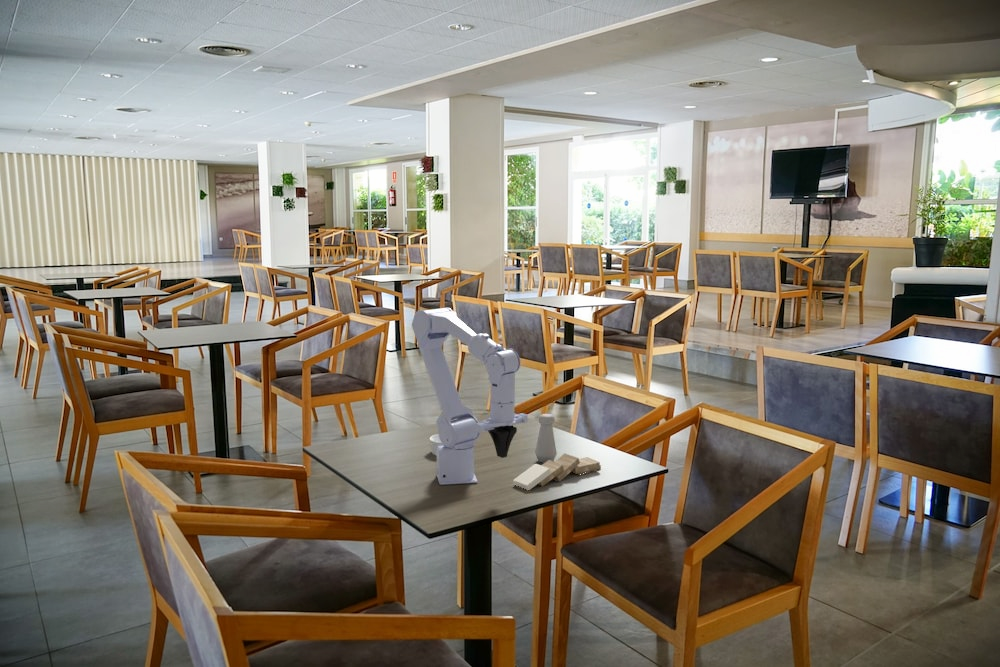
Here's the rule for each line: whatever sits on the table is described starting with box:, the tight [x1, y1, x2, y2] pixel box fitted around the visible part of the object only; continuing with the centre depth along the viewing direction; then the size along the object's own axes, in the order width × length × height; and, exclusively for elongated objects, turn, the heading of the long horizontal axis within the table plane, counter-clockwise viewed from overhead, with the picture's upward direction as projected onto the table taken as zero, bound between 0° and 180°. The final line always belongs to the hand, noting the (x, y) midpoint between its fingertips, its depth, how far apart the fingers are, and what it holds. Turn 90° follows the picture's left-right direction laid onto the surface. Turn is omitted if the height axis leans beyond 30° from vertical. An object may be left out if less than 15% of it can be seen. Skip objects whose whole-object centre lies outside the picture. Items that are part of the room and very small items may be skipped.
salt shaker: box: [534, 413, 558, 464], centre depth 209 cm, size 6×6×13 cm
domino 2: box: [552, 453, 580, 482], centre depth 198 cm, size 2×5×8 cm
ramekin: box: [429, 434, 443, 457], centre depth 216 cm, size 9×9×4 cm
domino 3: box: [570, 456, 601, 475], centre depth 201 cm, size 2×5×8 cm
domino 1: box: [537, 460, 564, 487], centre depth 194 cm, size 2×5×8 cm
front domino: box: [513, 463, 551, 491], centre depth 191 cm, size 2×5×8 cm
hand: (501, 456), depth 184 cm, fingers closed
